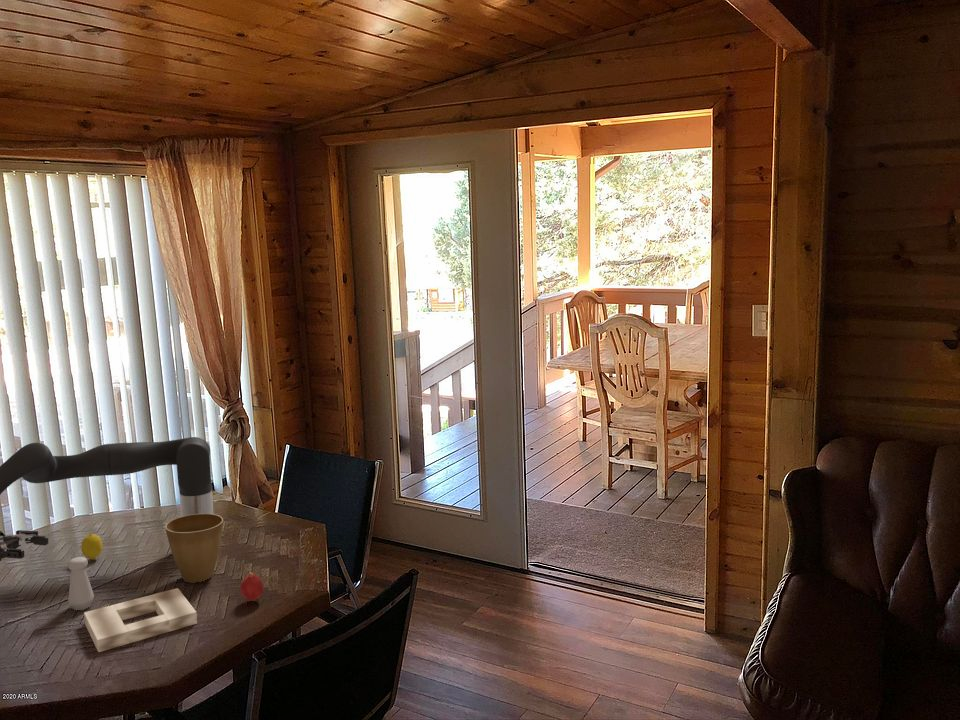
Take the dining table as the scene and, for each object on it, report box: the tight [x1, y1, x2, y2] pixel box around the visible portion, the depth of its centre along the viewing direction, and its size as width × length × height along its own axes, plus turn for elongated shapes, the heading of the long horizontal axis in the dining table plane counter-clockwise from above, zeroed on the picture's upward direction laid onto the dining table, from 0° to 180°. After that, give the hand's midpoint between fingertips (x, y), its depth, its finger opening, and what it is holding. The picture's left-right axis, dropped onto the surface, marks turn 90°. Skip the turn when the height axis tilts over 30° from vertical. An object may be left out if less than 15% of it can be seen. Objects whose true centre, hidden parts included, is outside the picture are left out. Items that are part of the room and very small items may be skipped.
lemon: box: [80, 533, 104, 561], centre depth 223 cm, size 6×6×8 cm
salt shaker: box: [67, 556, 95, 612], centre depth 194 cm, size 6×6×13 cm
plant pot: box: [164, 513, 224, 584], centre depth 211 cm, size 15×15×16 cm
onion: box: [239, 572, 265, 602], centre depth 197 cm, size 6×6×8 cm
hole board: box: [83, 587, 198, 653], centre depth 186 cm, size 22×16×3 cm
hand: (35, 547), depth 194 cm, fingers open, 8 cm apart
